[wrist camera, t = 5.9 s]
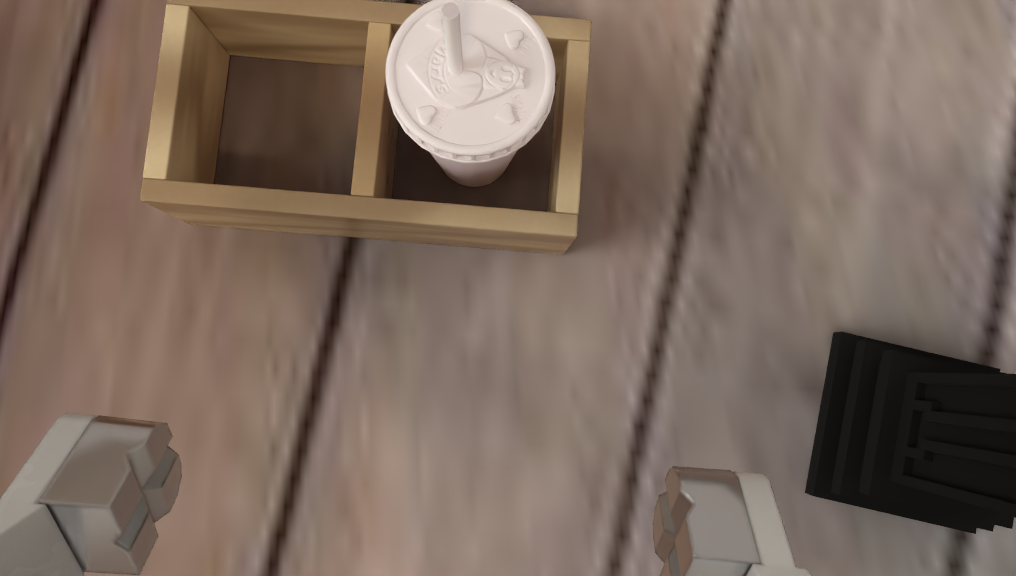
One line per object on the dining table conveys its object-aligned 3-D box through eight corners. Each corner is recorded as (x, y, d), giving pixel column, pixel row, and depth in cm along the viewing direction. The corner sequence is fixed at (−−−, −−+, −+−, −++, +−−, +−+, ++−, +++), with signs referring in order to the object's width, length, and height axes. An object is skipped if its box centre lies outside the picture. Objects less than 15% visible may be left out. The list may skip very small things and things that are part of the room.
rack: (564, 254, 35) (577, 236, 30) (188, 224, 34) (138, 200, 29) (576, 67, 36) (591, 19, 31) (213, 35, 35) (168, -19, 30)
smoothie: (418, 83, 36) (376, -97, 22) (543, 97, 36) (581, -74, 22) (403, 206, 35) (350, 101, 21) (531, 219, 35) (563, 124, 21)
